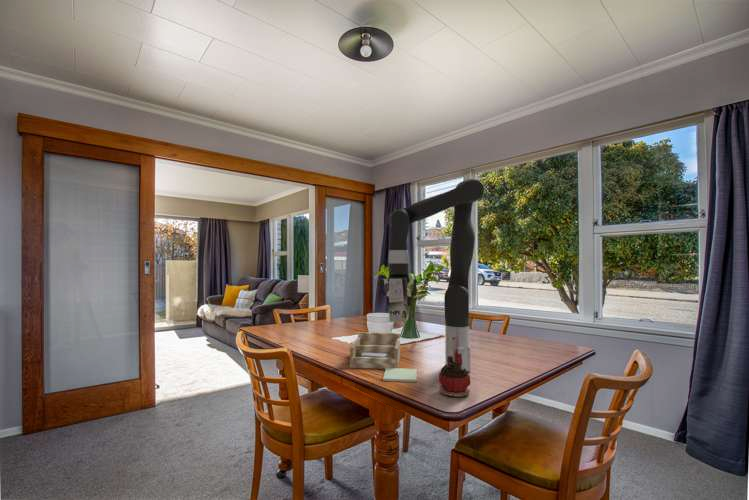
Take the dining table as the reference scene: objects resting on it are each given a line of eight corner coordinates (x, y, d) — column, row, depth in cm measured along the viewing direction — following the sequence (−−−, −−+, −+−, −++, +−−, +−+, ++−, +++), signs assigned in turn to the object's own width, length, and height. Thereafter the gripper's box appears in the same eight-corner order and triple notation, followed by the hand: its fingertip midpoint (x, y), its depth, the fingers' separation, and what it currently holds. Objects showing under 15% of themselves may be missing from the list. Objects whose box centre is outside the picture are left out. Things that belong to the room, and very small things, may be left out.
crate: (400, 355, 162) (400, 333, 162) (397, 369, 141) (397, 343, 141) (358, 354, 164) (358, 332, 164) (349, 367, 143) (349, 342, 143)
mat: (416, 370, 138) (416, 368, 138) (416, 382, 125) (416, 379, 126) (385, 369, 140) (385, 367, 140) (382, 380, 127) (382, 378, 127)
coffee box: (406, 322, 129) (405, 278, 130) (388, 322, 131) (388, 278, 131) (409, 318, 138) (408, 277, 139) (392, 318, 140) (392, 277, 140)
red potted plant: (435, 387, 120) (435, 333, 121) (463, 386, 121) (462, 333, 121) (444, 399, 110) (444, 340, 110) (474, 398, 110) (473, 340, 111)
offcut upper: (387, 360, 147) (387, 353, 147) (384, 362, 143) (384, 356, 143) (365, 357, 150) (365, 351, 150) (361, 360, 146) (361, 354, 146)
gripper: (417, 262, 138) (418, 305, 138) (380, 262, 140) (381, 305, 139) (417, 262, 131) (418, 307, 130) (378, 262, 133) (379, 307, 132)
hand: (399, 306), depth 135 cm, fingers closed on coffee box, 6 cm apart
